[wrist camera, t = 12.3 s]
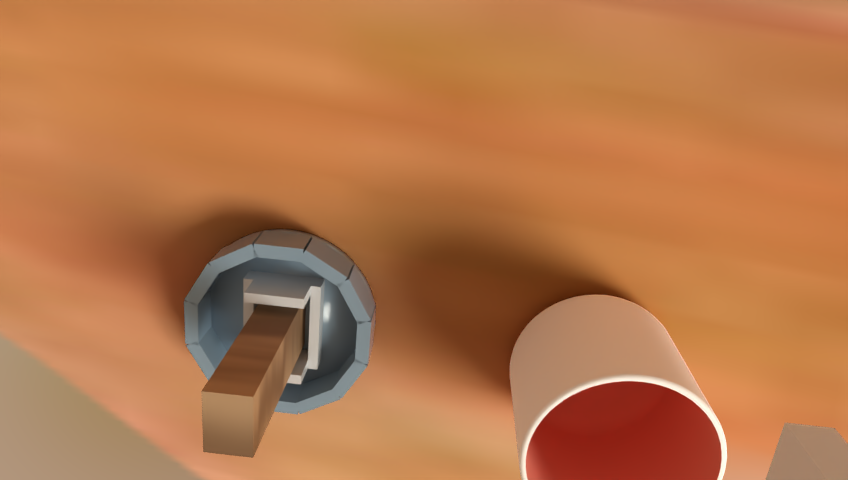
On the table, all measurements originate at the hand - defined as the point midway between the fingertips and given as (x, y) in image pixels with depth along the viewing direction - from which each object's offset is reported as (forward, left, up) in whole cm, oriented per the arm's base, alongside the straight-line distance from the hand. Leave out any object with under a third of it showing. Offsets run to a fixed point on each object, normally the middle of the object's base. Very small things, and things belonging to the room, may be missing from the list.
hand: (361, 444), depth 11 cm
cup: (+14, +11, -29) cm, 34 cm away
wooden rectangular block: (+13, -8, -28) cm, 32 cm away
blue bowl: (+13, -8, -29) cm, 33 cm away
